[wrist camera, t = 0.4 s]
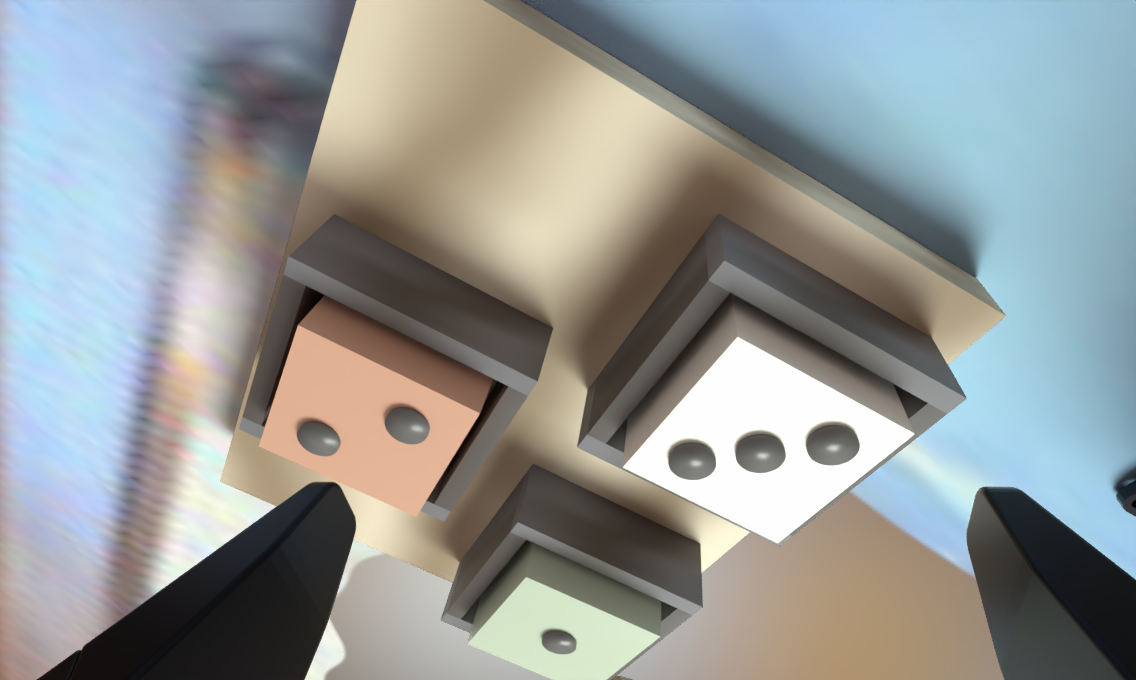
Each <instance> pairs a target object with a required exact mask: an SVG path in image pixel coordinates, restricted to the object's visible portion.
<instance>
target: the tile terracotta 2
mask: <svg viewBox="0 0 1136 680" xmlns="http://www.w3.org/2000/svg"><path fill="white" fill-rule="evenodd" d="M492 381H493V378H491V377H489V376H487V375H485V374H483V373H481V372H479V371H477V370H475V369H473V368H471V367H469V366H467V365H465V364H463V363H461V362H459V361H457V360H455V359H453V358H451V357H449V356H447V355H445V354H442V353H440V352H438V351H436V350H434V349H432V348H430V347H428V346H426V345H424V344H422V343H420V342H418V341H416V340H414V339H412V338H410V337H408V336H406V335H404V334H402V333H400V332H398V331H396V330H394V329H392V328H390V327H388V326H386V325H384V324H382V323H380V322H378V321H376V320H374V319H372V318H370V317H368V316H366V315H364V314H362V313H360V312H358V311H356V310H354V309H352V308H350V307H348V306H346V305H344V304H342V303H340V302H338V301H336V300H334V299H332V298H330V297H328V296H326V295H324V296H323V297H322V299H321V300H320V301H319V302H318V303H317V304H316V305H315V307H314V308H313V309H312V310H311V311H310V312H309V313H308V314H307V316H306V317H305V318H304V319H303V320H302V321H301V322H300V323H299V325H298V327H297V330H296V333H295V336H294V339H293V342H292V345H291V348H290V351H289V354H288V357H287V361H286V364H285V367H284V370H283V373H282V376H281V379H280V382H279V385H278V388H277V391H276V394H275V398H274V401H273V404H272V407H271V410H270V413H269V416H268V419H267V422H266V425H265V428H264V431H263V434H262V438H261V441H260V444H259V447H261V448H264V449H266V450H268V451H270V452H273V453H275V454H277V455H279V456H282V457H284V458H286V459H288V460H291V461H293V462H295V463H297V464H299V465H302V466H304V467H306V468H308V469H311V470H313V471H315V472H317V473H320V474H322V475H324V476H326V477H328V478H331V479H333V480H335V481H337V482H340V483H342V484H344V485H346V486H349V487H351V488H353V489H355V490H357V491H360V492H362V493H364V494H366V495H369V496H371V497H373V498H375V499H378V500H380V501H382V502H384V503H386V504H389V505H391V506H393V507H395V508H398V509H400V510H402V511H404V512H407V513H409V514H411V515H413V516H415V517H416V516H417V515H418V513H419V512H420V510H421V508H422V507H423V505H424V504H425V502H426V500H427V499H428V497H429V495H430V494H431V492H432V491H433V489H434V487H435V486H436V484H437V482H438V481H439V479H440V478H441V476H442V474H443V473H444V471H445V469H446V468H447V466H448V465H449V463H450V461H451V460H452V458H453V457H454V455H455V453H456V452H457V450H458V448H459V447H460V445H461V444H462V442H463V440H464V439H465V437H466V435H467V434H468V432H469V431H470V429H471V427H472V426H473V424H474V422H475V421H476V419H477V418H478V416H479V414H480V412H481V410H482V407H483V404H484V402H485V399H486V397H487V394H488V391H489V389H490V386H491V384H492Z"/></svg>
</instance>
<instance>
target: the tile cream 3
mask: <svg viewBox="0 0 1136 680" xmlns="http://www.w3.org/2000/svg"><path fill="white" fill-rule="evenodd" d="M914 434H915V433H914V431H913V428H912V426H911V424H910V421H909V419H908V417H907V415H906V412H905V410H904V408H903V406H902V403H901V401H900V399H899V396H898V394H897V392H896V390H895V387H894V385H893V383H891V382H889V381H888V380H886V379H884V378H882V377H880V376H879V375H877V374H875V373H873V372H871V371H870V370H868V369H866V368H864V367H863V366H861V365H859V364H857V363H855V362H854V361H852V360H850V359H848V358H846V357H845V356H843V355H841V354H839V353H838V352H836V351H834V350H832V349H830V348H829V347H827V346H825V345H823V344H821V343H820V342H818V341H816V340H814V339H813V338H811V337H809V336H807V335H805V334H804V333H802V332H800V331H798V330H796V329H795V328H793V327H791V326H789V325H788V324H786V323H784V322H782V321H780V320H779V319H777V318H775V317H773V316H771V315H770V314H768V313H766V312H764V311H762V310H761V309H759V308H757V307H755V306H754V305H752V304H750V303H748V302H746V301H745V300H743V299H741V298H739V297H737V296H736V295H734V294H732V293H730V294H729V295H728V297H727V298H726V299H725V300H724V301H723V303H722V304H721V305H720V306H719V308H718V309H717V310H716V311H715V312H714V314H713V315H712V316H711V317H710V318H709V320H708V321H707V322H706V323H705V324H704V326H703V327H702V328H701V329H700V331H699V332H698V333H697V334H696V335H695V337H694V338H693V339H692V340H691V341H690V343H689V344H688V345H687V346H686V347H685V349H684V350H683V351H682V352H681V354H680V355H679V356H678V357H677V358H676V360H675V361H674V362H673V363H672V364H671V366H670V367H669V368H668V369H667V370H666V372H665V373H664V374H663V375H662V377H661V378H660V379H659V380H658V381H657V383H656V384H655V385H654V386H653V387H652V389H651V390H650V391H649V392H648V393H647V395H646V396H645V397H644V398H643V400H642V401H641V402H640V403H639V404H638V406H637V407H636V408H635V409H634V410H633V412H632V413H631V414H630V415H629V416H628V419H627V429H626V439H625V449H624V460H623V468H625V469H627V470H629V471H631V472H633V473H635V474H637V475H639V476H641V477H643V478H645V479H647V480H649V481H651V482H653V483H656V484H658V485H660V486H662V487H664V488H666V489H668V490H670V491H672V492H674V493H676V494H678V495H680V496H682V497H684V498H686V499H688V500H690V501H692V502H694V503H696V504H698V505H700V506H702V507H704V508H707V509H709V510H711V511H713V512H715V513H717V514H719V515H721V516H723V517H725V518H727V519H729V520H731V521H733V522H735V523H737V524H739V525H741V526H743V527H745V528H747V529H749V530H751V531H753V532H755V533H758V534H760V535H762V536H764V537H766V538H768V539H770V540H772V541H774V542H776V543H779V542H780V541H781V540H783V539H784V538H785V537H786V536H788V535H789V534H790V533H791V532H793V531H794V530H795V529H796V528H798V527H799V526H800V525H801V524H803V523H804V522H805V521H806V520H808V519H809V518H810V517H811V516H813V515H814V514H815V513H816V512H818V511H819V510H820V509H821V508H823V507H824V506H825V505H826V504H828V503H829V502H830V501H832V500H833V499H834V498H835V497H837V496H838V495H839V494H840V493H842V492H843V491H844V490H845V489H847V488H848V487H849V486H850V485H852V484H853V483H854V482H855V481H857V480H858V479H859V478H860V477H862V476H863V475H864V474H865V473H867V472H868V471H869V470H870V469H872V468H873V467H874V466H875V465H877V464H878V463H879V462H880V461H882V460H883V459H884V458H885V457H887V456H888V455H889V454H890V453H892V452H893V451H894V450H896V449H897V448H898V447H899V446H901V445H902V444H903V443H904V442H906V441H907V440H908V439H909V438H911V437H912V436H913V435H914Z"/></svg>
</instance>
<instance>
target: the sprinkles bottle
mask: <svg viewBox="0 0 1136 680" xmlns="http://www.w3.org/2000/svg"><path fill="white" fill-rule="evenodd" d="M611 680H632V679H629V678H625V677H621V676H615V677H614V678H612V679H611Z"/></svg>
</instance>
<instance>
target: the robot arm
mask: <svg viewBox="0 0 1136 680" xmlns="http://www.w3.org/2000/svg"><path fill="white" fill-rule="evenodd" d="M1116 498H1117V500H1118V502H1119V503H1120V504H1121V506H1122V507H1123V508H1124V509H1125V510H1126V511H1127V512H1129V513H1130V514H1132V515H1134V516H1136V480H1135V481H1134V482H1132V483H1130V484H1129V485H1127V486H1125V487H1124V488H1122V489H1121V490H1120V491H1118V493H1117V495H1116ZM355 532H356V518H355V515H354V513H353V511H352V509H351V507H350V505H349V503H348V501H347V499H346V497H345V495H344V492H343V490H342V488H341V487H340V486H339V485H338V484H337V483H336V482H311V483H309V484H307V485H306V486H304V487H303V488H302V489H300V490H299V491H298V492H296V493H295V494H293V495H292V496H291V497H289V498H288V499H286V500H285V501H284V502H282V503H281V504H280V505H278V506H277V507H275V508H274V509H273V510H271V511H270V512H268V513H267V514H266V515H264V516H263V517H262V518H260V519H259V520H257V521H256V522H255V523H253V524H252V525H251V526H249V527H248V528H246V529H245V530H244V531H242V532H241V533H239V534H238V535H237V536H235V537H234V538H233V539H231V540H230V541H228V542H227V543H226V544H224V545H223V546H221V547H220V548H219V549H217V550H216V551H215V552H213V553H212V554H210V555H209V556H208V557H206V558H205V559H203V560H202V561H201V562H199V563H198V564H197V565H195V566H194V567H192V568H191V569H190V570H188V571H187V572H185V573H184V574H183V575H181V576H180V577H179V578H177V579H176V580H174V581H173V582H172V583H170V584H169V585H167V586H166V587H165V588H163V589H162V590H161V591H159V592H158V593H156V594H155V595H154V596H152V597H151V598H149V599H148V600H147V601H145V602H144V603H143V604H141V605H140V606H138V607H137V608H136V609H134V610H133V611H131V612H130V613H129V614H127V615H126V616H125V617H123V618H122V619H120V620H119V621H118V622H116V623H115V624H113V625H112V626H111V627H109V628H108V629H107V630H105V631H104V632H102V633H101V634H100V635H98V636H97V637H95V638H94V639H93V640H91V641H90V642H89V643H87V644H86V645H85V646H84V647H83V649H82V650H78V651H76V652H74V653H73V654H72V655H70V656H69V657H68V658H66V659H65V660H64V661H62V662H61V663H59V664H58V665H57V666H55V667H54V668H52V669H51V670H50V671H48V672H47V673H45V674H44V675H43V676H41V677H40V678H38V679H37V680H305V677H306V675H307V672H308V670H309V668H310V665H311V663H312V660H313V658H314V656H315V653H316V651H317V648H318V646H319V643H320V641H321V639H322V636H323V633H324V631H325V628H326V626H327V623H328V620H329V617H330V614H331V611H332V608H333V605H334V602H335V598H336V595H337V592H338V588H339V585H340V582H341V578H342V575H343V572H344V569H345V565H346V562H347V559H348V555H349V552H350V549H351V546H352V542H353V539H354V536H355ZM967 546H968V551H969V554H970V558H971V562H972V566H973V569H974V573H975V577H976V581H977V584H978V588H979V592H980V595H981V599H982V603H983V607H984V611H985V614H986V618H987V622H988V626H989V629H990V633H991V637H992V641H993V644H994V648H995V652H996V655H997V658H998V662H999V665H1000V669H1001V671H1002V674H1003V677H1004V680H1136V580H1135V579H1134V578H1133V577H1131V576H1130V575H1129V574H1128V573H1126V572H1125V571H1124V570H1123V569H1121V568H1120V567H1119V566H1117V565H1116V564H1115V563H1114V562H1112V561H1111V560H1110V559H1109V558H1107V557H1106V556H1105V555H1103V554H1102V553H1101V552H1100V551H1098V550H1097V549H1096V548H1094V547H1093V546H1092V545H1091V544H1089V543H1088V542H1087V541H1086V540H1084V539H1083V538H1082V537H1080V536H1079V535H1078V534H1077V533H1075V532H1074V531H1073V530H1072V529H1070V528H1069V527H1068V526H1066V525H1065V524H1064V523H1063V522H1061V521H1060V520H1059V519H1057V518H1056V517H1055V516H1054V515H1052V514H1051V513H1050V512H1049V511H1047V510H1046V509H1045V508H1043V507H1042V506H1041V505H1040V504H1038V503H1037V502H1036V501H1035V500H1033V499H1032V498H1031V497H1029V496H1028V495H1027V494H1026V493H1024V492H1023V491H1021V490H1019V489H1017V488H1014V487H982V488H980V489H979V490H978V491H977V493H976V496H975V500H974V504H973V508H972V512H971V516H970V520H969V524H968V528H967Z"/></svg>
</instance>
